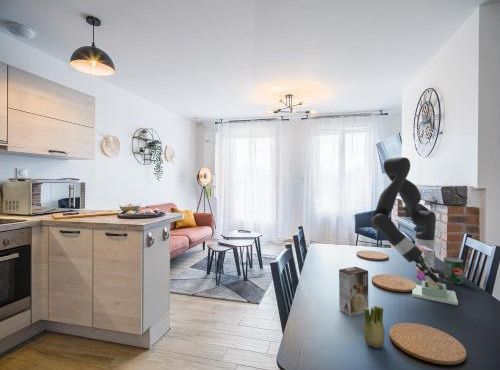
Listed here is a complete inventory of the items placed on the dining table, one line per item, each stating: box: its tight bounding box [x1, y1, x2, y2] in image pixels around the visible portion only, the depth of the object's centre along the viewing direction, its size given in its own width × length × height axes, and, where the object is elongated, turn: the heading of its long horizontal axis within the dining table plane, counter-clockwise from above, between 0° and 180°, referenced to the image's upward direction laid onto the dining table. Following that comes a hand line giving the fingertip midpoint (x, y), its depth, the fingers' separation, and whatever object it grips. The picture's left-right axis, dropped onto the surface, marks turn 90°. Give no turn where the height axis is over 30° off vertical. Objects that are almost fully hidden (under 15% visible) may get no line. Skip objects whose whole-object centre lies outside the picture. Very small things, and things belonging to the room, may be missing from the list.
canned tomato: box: [443, 256, 464, 285], centre depth 138 cm, size 8×8×11 cm
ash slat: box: [429, 273, 440, 289], centre depth 121 cm, size 4×4×8 cm
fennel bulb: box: [363, 305, 385, 349], centre depth 84 cm, size 6×5×12 cm
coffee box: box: [338, 266, 369, 317], centre depth 106 cm, size 9×6×16 cm
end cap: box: [411, 280, 459, 306], centre depth 121 cm, size 13×16×4 cm
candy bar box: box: [415, 246, 436, 282], centre depth 139 cm, size 11×5×16 cm, turn 168°
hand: (437, 278), depth 120 cm, fingers open, 8 cm apart
